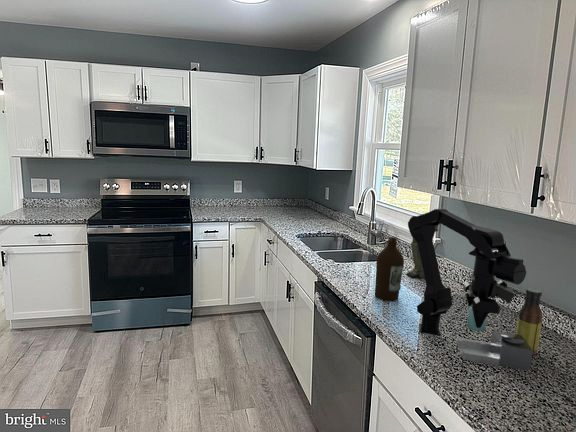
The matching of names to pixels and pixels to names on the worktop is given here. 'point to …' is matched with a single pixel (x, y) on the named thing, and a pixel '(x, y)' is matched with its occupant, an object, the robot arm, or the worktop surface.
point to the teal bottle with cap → (472, 324)
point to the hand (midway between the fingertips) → (476, 323)
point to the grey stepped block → (498, 350)
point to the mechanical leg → (417, 261)
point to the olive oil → (389, 272)
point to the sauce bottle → (530, 319)
